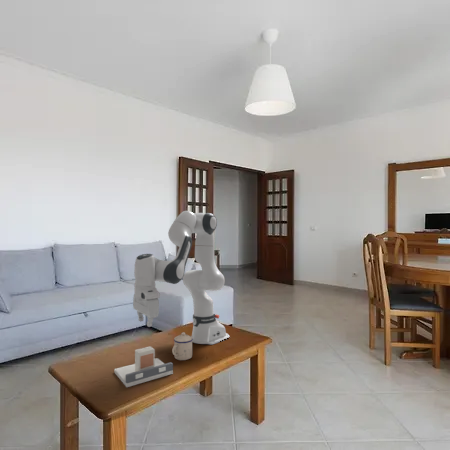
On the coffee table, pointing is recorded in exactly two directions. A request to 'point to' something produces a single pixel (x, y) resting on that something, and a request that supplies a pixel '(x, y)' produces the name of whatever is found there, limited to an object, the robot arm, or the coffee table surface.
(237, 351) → the coffee table surface
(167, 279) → the robot arm
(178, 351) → the teacup with lid
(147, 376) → the shelf board
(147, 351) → the product carton
